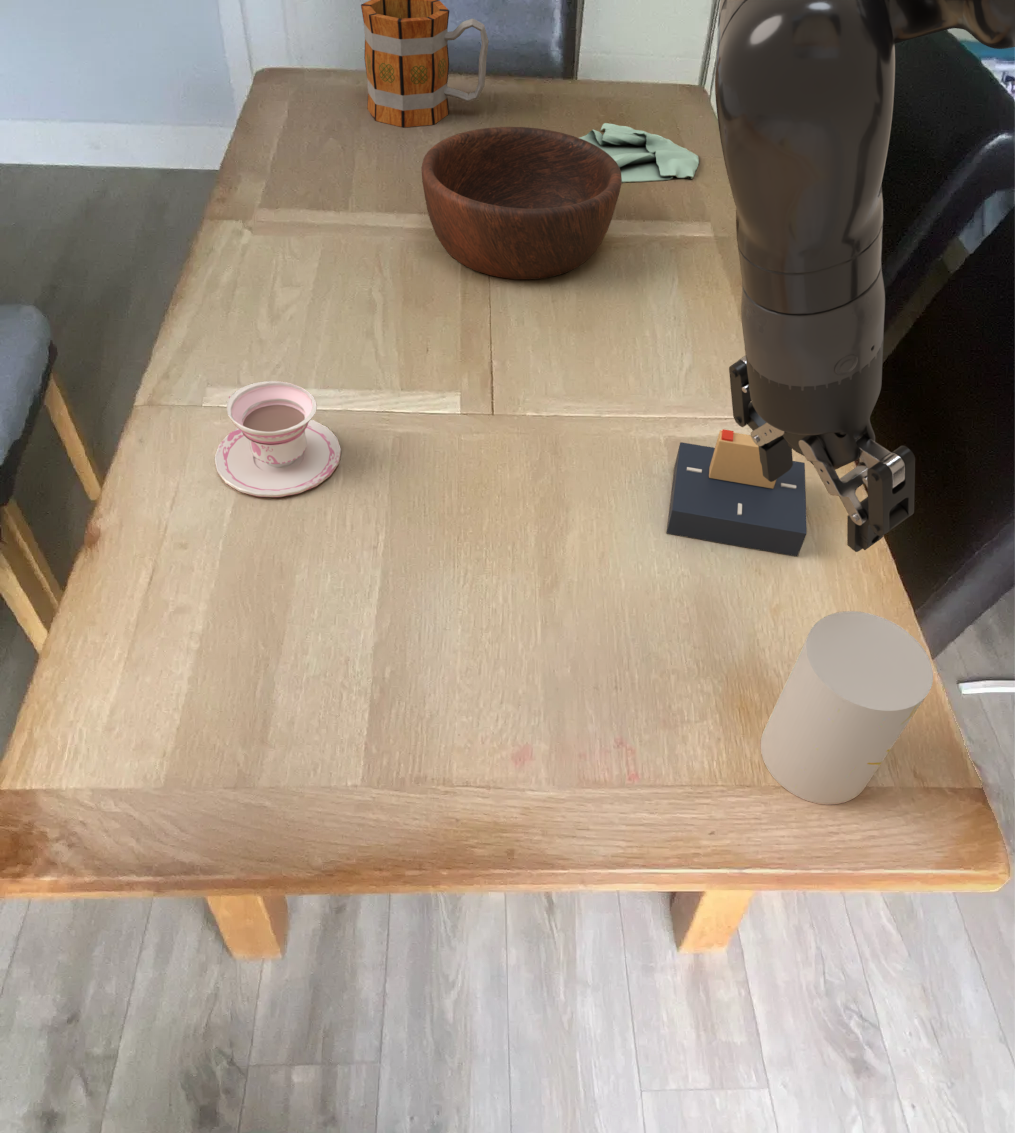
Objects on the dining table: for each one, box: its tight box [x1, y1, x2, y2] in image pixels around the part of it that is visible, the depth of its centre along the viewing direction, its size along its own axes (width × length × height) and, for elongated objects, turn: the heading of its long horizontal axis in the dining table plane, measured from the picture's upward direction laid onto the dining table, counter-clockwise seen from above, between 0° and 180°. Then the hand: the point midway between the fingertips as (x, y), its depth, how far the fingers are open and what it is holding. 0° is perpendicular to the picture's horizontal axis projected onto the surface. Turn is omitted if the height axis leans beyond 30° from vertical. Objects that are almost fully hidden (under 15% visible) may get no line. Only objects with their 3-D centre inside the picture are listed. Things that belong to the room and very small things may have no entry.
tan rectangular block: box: [709, 428, 777, 489], centre depth 83 cm, size 6×2×5 cm, turn 78°
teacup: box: [214, 380, 342, 498], centre depth 86 cm, size 12×12×6 cm
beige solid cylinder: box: [760, 610, 934, 806], centre depth 64 cm, size 8×8×12 cm
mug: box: [360, 0, 490, 128], centre depth 143 cm, size 20×14×15 cm
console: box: [665, 441, 808, 557], centre depth 85 cm, size 12×11×3 cm
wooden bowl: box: [421, 126, 623, 280], centre depth 116 cm, size 25×25×10 cm
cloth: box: [579, 122, 700, 183], centre depth 140 cm, size 20×22×2 cm
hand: (818, 506), depth 64 cm, fingers open, 8 cm apart
